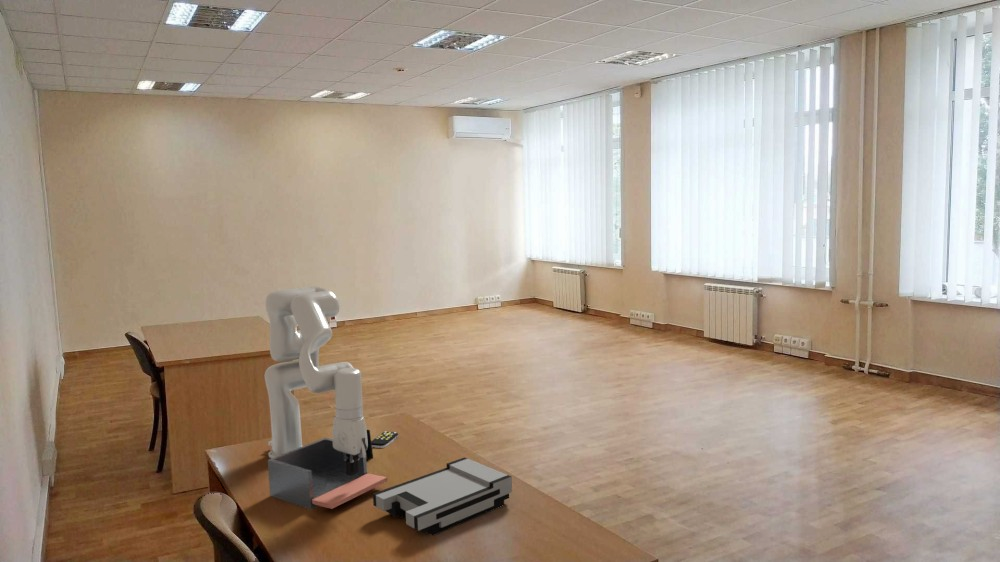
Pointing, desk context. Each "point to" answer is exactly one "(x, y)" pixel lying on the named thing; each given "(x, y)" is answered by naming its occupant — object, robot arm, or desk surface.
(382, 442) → the remote control
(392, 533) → the desk surface
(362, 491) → the tailgate
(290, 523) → the desk surface
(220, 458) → the desk surface
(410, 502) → the game console
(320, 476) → the box
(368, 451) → the speaker
